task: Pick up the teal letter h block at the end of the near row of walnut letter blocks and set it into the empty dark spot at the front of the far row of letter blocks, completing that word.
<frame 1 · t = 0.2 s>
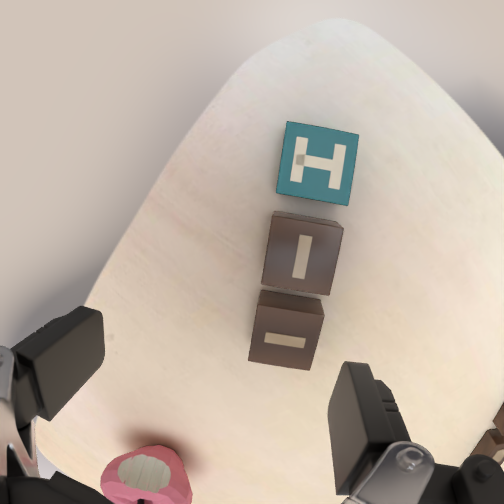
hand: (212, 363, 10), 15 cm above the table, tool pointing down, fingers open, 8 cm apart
apple: (162, 453, 30), on the table
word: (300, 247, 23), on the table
teal letter h block: (314, 165, 22), on the table
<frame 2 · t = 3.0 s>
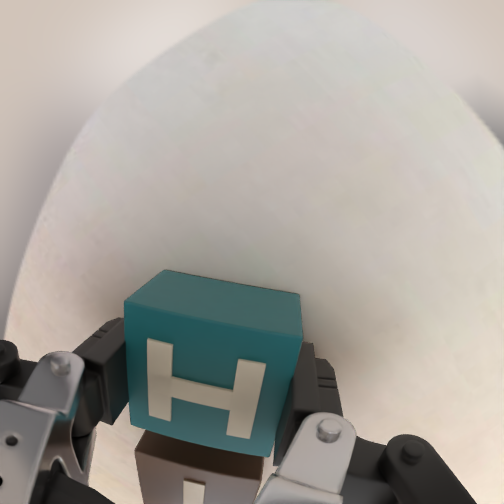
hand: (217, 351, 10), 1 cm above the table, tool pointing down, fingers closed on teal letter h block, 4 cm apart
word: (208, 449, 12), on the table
teal letter h block: (221, 342, 11), on the table, touching gripper
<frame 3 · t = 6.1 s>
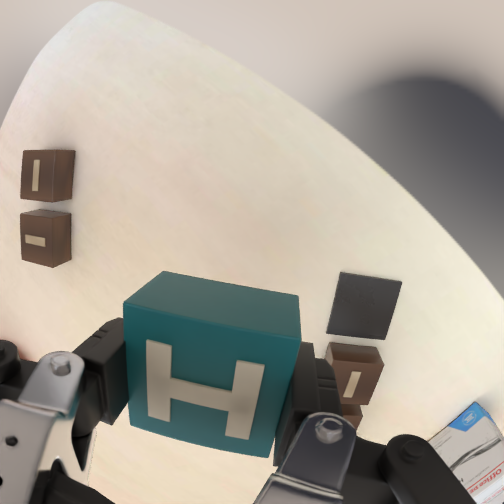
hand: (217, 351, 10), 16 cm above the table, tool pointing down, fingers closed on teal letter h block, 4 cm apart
ink box: (456, 428, 29), on the table
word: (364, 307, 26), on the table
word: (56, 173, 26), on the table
teal letter h block: (221, 343, 11), point 15 cm above the table, touching gripper
when the fingers open (1 cm above the table, at t = 9.7 s): teal letter h block stays where it is, resting on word.
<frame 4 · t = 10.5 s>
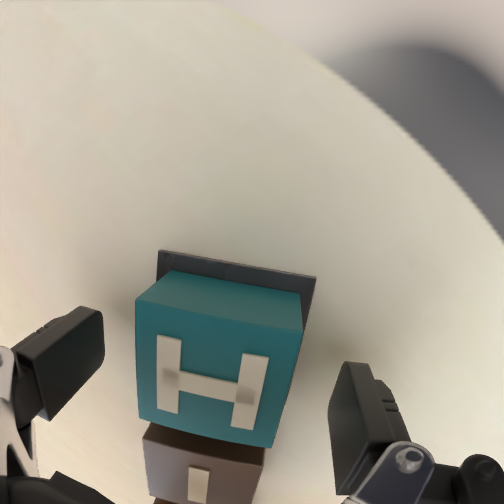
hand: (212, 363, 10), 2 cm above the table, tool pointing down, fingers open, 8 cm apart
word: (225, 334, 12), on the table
teal letter h block: (225, 339, 12), resting on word
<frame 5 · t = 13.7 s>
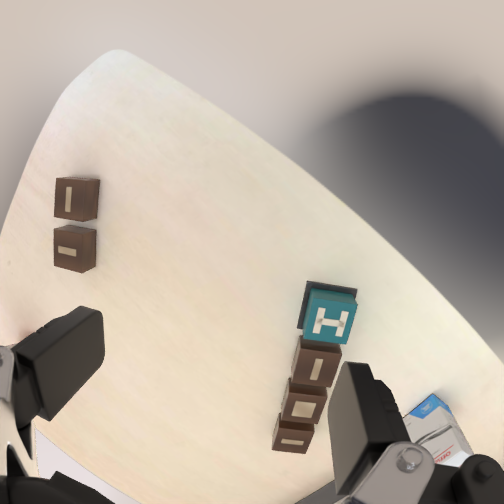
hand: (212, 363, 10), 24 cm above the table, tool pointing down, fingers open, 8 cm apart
ink box: (417, 417, 37), on the table
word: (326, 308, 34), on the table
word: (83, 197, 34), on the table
teal letter h block: (327, 310, 34), resting on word
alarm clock: (332, 502, 42), on the table
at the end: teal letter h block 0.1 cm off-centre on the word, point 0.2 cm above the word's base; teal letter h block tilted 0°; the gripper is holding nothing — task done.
